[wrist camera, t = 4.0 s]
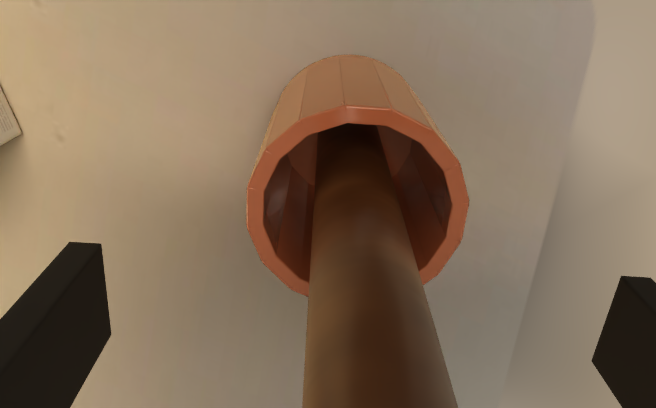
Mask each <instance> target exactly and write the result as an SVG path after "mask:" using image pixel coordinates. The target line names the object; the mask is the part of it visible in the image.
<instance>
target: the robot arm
mask: <svg viewBox="0 0 656 408" xmlns="http://www.w3.org/2000/svg"><path fill="white" fill-rule="evenodd" d="M110 336H111V327H110V318H109V309H108V300H107V291H106V282H105V273H104V264H103V255H102V246H101V244H95V243H79V242H69V243H68V244H67V245H66V247H65V248H64V249H63V250H62V251H61V252H60V253H59V254H58V256H57V257H56V258H55V259H54V260H53V261H52V262H51V263H50V264H49V266H48V267H47V268H46V269H45V270H44V271H43V272H42V273H41V275H40V276H39V277H38V278H37V279H36V280H35V281H34V282H33V283H32V285H31V286H30V287H29V288H28V289H27V290H26V291H25V292H24V294H23V295H22V296H21V297H20V298H19V299H18V300H17V301H16V302H15V304H14V305H13V306H12V307H11V308H10V309H9V310H8V311H7V313H6V314H5V315H4V316H3V317H2V318H1V319H0V408H70V407H71V405H72V403H73V401H74V400H75V398H76V396H77V394H78V392H79V391H80V389H81V387H82V385H83V384H84V382H85V380H86V378H87V376H88V375H89V373H90V371H91V369H92V368H93V366H94V364H95V362H96V361H97V359H98V357H99V355H100V353H101V352H102V350H103V348H104V346H105V345H106V343H107V341H108V339H109V338H110ZM592 362H593V364H594V365H595V367H596V369H597V370H598V371H599V373H600V374H601V376H602V377H603V379H604V381H605V382H606V383H607V385H608V387H609V388H610V390H611V391H612V393H613V394H614V396H615V397H616V399H617V400H618V402H619V403H620V404H621V406H622V408H656V283H655V282H654V281H653V280H652V279H651V278H645V277H629V276H621V278H620V281H619V284H618V287H617V290H616V292H615V295H614V298H613V301H612V304H611V307H610V310H609V312H608V315H607V318H606V321H605V324H604V327H603V330H602V332H601V335H600V338H599V341H598V344H597V347H596V350H595V352H594V355H593V358H592Z"/></svg>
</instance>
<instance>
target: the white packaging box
mask: <svg viewBox="0 0 656 408" xmlns="http://www.w3.org/2000/svg"><path fill="white" fill-rule="evenodd" d="M19 135H21V130H20V128H19V125H18V123H17V121H16V119H15V117H14V115H13V112H12V110H11V108H10V106H9V104H8V102H7V100H6V98H5V95H4V93H3V91H2V89H1V87H0V146H1V145H3V144H4V143H6V142H8V141H10V140H12V139H13V138H15V137H17V136H19Z"/></svg>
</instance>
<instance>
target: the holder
mask: <svg viewBox="0 0 656 408" xmlns="http://www.w3.org/2000/svg"><path fill="white" fill-rule="evenodd" d="M346 123H351V124H365V125H377V128H378V132H379V135H380V139H381V142H382V146H383V149H384V153H385V156H386V160H387V163H388V167H389V170H390V173H391V177H392V180H393V184H394V187H395V191H396V194H397V198H398V201H399V205H400V208H401V212H402V215H403V218H404V222H405V225H406V229H407V232H408V236H409V239H410V243H411V246H412V250H413V253H414V257H415V260H416V263H417V267H418V270H419V274H420V277H421V281H422V284H423V285H424V284H425V283H427V282H428V281H430V280H431V279H433V278H434V277H435V276H437V275H438V274H439V273H440V272H441V270H442V269H443V267H444V266H445V264H446V263H447V261H448V260H449V259H450V257H451V256H452V254H453V253H454V251H455V250H456V248H457V247H458V245H459V244H460V242H461V240H462V237H463V232H464V227H465V222H466V217H467V212H468V207H469V197H468V193H467V189H466V185H465V181H464V177H463V173H462V168H461V164H460V163H459V160H458V159H457V157H456V156H455V154H454V153H453V151H452V149H451V148H450V146H449V145H448V143H447V142H446V140H445V139H444V137H443V135H442V134H441V132H440V131H439V129H438V128H437V126H436V124H435V123H434V121H433V120H432V118H431V117H430V115H429V114H428V112H427V110H426V109H425V107H424V106H423V104H422V103H421V101H420V100H419V98H418V96H417V95H416V94H415V93H414V91H413V90H412V89H411V88H410V86H409V85H408V83H407V82H406V81H405V80H404V79H403V78H402V76H401V75H400V74H398V73H397V72H396V71H395V70H394V69H392V68H391V67H389V66H387V65H386V64H384V63H382V62H380V61H378V60H375V59H372V58H369V57H365V56H359V55H338V56H332V57H328V58H324V59H322V60H319V61H317V62H314V63H313V64H311V65H309V66H308V67H306V68H304V69H303V70H302V71H301V72H299V73H298V74H297V75H296V76H295V77H294V78H293V79H292V80H291V81H290V82H289V84H288V85H287V86H286V88H285V89H284V91H283V93H282V94H281V96H280V98H279V101H278V103H277V106H276V108H275V110H274V112H273V114H272V117H271V120H270V123H269V126H268V128H267V131H266V134H265V137H264V140H263V143H262V145H261V148H260V151H259V154H258V157H257V160H256V162H255V165H254V168H253V171H252V174H251V177H250V179H249V182H248V186H247V209H246V225H247V229H248V231H249V234H250V236H251V238H252V241H253V243H254V245H255V247H256V250H257V252H258V254H259V257H260V259H261V261H262V262H263V264H264V265H265V266H267V267H268V268H269V269H270V270H271V271H272V272H273V273H274V274H275V275H276V276H277V277H278V278H279V279H280V280H281V281H282V282H283V283H284V284H286V285H287V286H288V287H289V288H291V290H293V291H296V292H298V293H300V294H303V295H305V296H307V297H309V280H310V262H311V244H312V227H313V209H314V192H315V174H316V157H317V139H318V132H321V131H324V130H327V129H330V128H333V127H337V126H340V125H343V124H346Z"/></svg>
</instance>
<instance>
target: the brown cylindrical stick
mask: <svg viewBox="0 0 656 408" xmlns="http://www.w3.org/2000/svg"><path fill="white" fill-rule="evenodd" d="M302 408H458V405H457V402H456V398H455V395H454V392H453V388H452V385H451V381H450V378H449V374H448V371H447V367H446V364H445V360H444V357H443V353H442V350H441V347H440V343H439V340H438V336H437V333H436V329H435V326H434V322H433V319H432V315H431V312H430V308H429V305H428V302H427V298H426V295H425V291H424V288H423V284H422V281H421V277H420V274H419V270H418V267H417V263H416V260H415V257H414V253H413V250H412V246H411V243H410V239H409V236H408V232H407V229H406V225H405V222H404V218H403V215H402V212H401V208H400V205H399V201H398V198H397V194H396V191H395V187H394V184H393V180H392V177H391V173H390V170H389V167H388V163H387V160H386V156H385V153H384V149H383V146H382V142H381V139H380V135H379V132H378V128H377V125H365V124H351V123H346V124H343V125H340V126H337V127H333V128H330V129H327V130H324V131H321V132H318V139H317V157H316V174H315V192H314V209H313V227H312V244H311V262H310V280H309V297H308V315H307V332H306V350H305V367H304V385H303V402H302Z"/></svg>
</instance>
